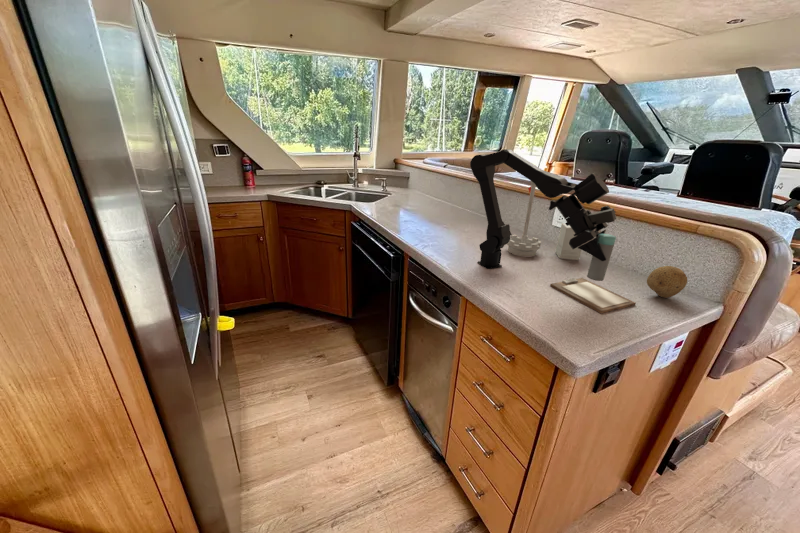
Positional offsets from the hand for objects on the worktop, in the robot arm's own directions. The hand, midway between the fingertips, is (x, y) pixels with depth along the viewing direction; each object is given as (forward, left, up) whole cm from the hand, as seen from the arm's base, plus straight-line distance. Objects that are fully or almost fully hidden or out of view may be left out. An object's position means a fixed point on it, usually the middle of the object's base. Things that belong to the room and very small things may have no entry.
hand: (606, 258), depth 94 cm
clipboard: (-1, +1, -12) cm, 12 cm away
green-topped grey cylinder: (-1, +1, -7) cm, 7 cm away
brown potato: (+19, -7, -13) cm, 24 cm away
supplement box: (+20, +29, -13) cm, 38 cm away
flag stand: (+6, +39, -13) cm, 42 cm away
